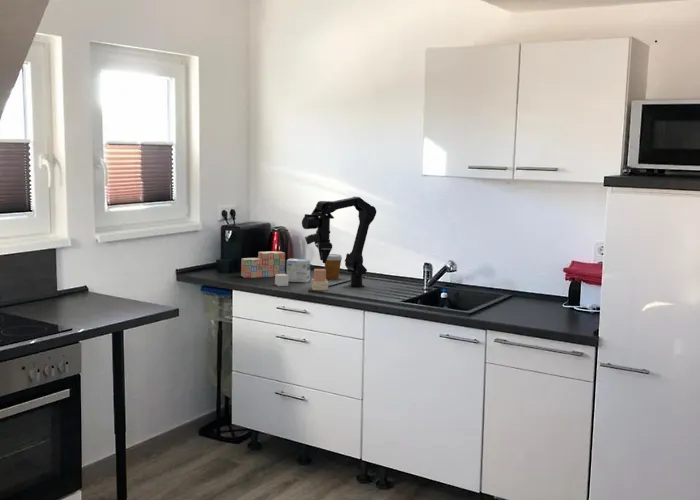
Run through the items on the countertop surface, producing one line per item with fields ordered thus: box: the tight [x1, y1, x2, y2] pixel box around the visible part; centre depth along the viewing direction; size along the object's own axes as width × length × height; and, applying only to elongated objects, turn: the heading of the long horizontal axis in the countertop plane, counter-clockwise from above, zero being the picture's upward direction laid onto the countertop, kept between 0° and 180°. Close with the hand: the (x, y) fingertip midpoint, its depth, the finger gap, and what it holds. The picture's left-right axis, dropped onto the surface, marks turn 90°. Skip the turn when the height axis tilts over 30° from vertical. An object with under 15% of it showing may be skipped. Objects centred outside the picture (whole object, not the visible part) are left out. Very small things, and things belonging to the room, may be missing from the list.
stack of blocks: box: [240, 250, 286, 279], centre depth 389 cm, size 21×6×12 cm, turn 116°
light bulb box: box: [285, 258, 311, 283], centre depth 378 cm, size 11×7×11 cm, turn 80°
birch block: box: [310, 278, 329, 291], centre depth 359 cm, size 7×7×4 cm
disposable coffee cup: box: [324, 253, 343, 281], centre depth 388 cm, size 10×10×12 cm
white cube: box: [274, 273, 289, 287], centre depth 366 cm, size 5×5×5 cm
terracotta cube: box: [313, 268, 326, 281], centre depth 359 cm, size 5×5×5 cm
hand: (322, 261), depth 358 cm, fingers open, 9 cm apart
